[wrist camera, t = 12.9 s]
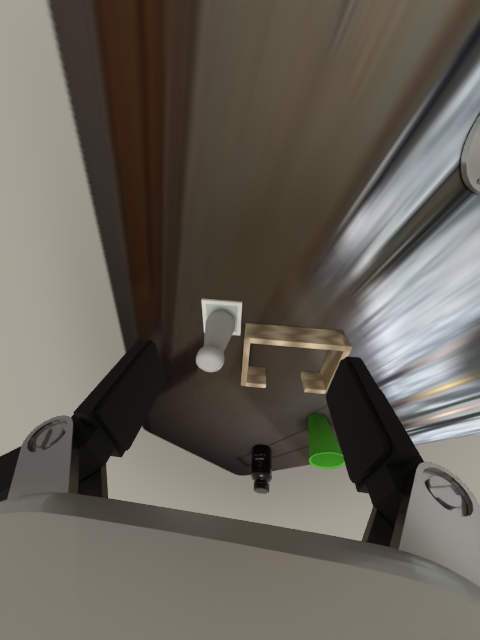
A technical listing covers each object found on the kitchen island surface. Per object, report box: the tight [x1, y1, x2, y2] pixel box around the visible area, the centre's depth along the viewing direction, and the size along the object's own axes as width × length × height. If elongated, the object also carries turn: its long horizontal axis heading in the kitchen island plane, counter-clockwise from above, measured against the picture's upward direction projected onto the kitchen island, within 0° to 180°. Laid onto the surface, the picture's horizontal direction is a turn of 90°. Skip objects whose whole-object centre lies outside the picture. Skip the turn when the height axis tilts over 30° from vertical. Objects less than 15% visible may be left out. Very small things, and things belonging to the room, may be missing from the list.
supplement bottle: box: [251, 445, 272, 494], centre depth 64 cm, size 7×7×12 cm
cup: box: [308, 414, 345, 469], centre depth 51 cm, size 9×9×11 cm
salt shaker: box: [196, 310, 235, 372], centre depth 33 cm, size 6×6×13 cm
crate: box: [241, 323, 352, 394], centre depth 41 cm, size 20×14×5 cm
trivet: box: [202, 298, 242, 335], centre depth 39 cm, size 8×8×1 cm
